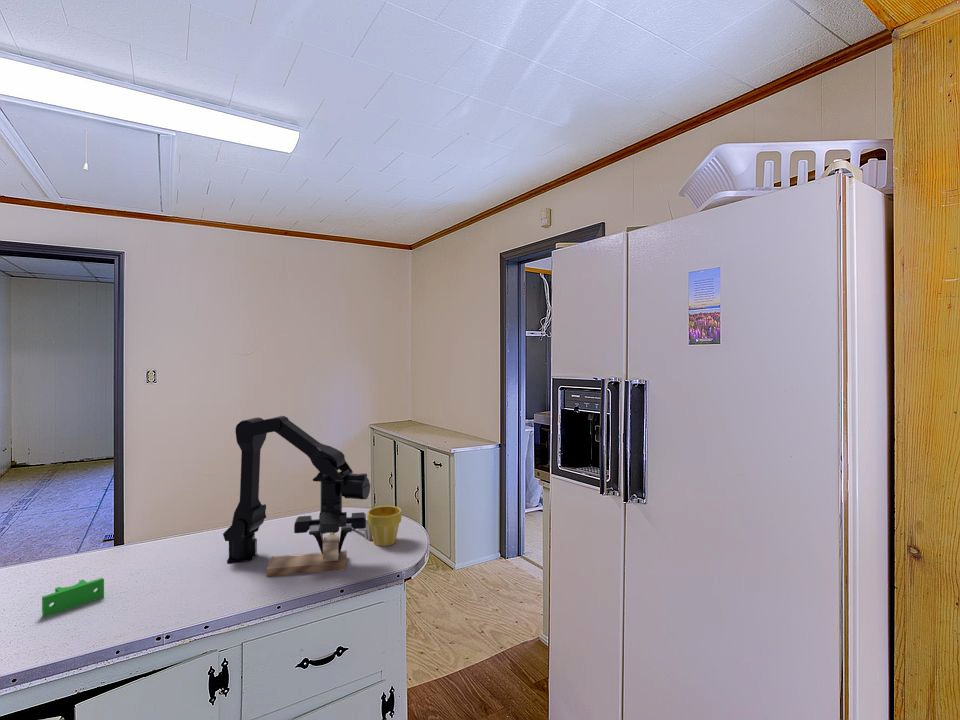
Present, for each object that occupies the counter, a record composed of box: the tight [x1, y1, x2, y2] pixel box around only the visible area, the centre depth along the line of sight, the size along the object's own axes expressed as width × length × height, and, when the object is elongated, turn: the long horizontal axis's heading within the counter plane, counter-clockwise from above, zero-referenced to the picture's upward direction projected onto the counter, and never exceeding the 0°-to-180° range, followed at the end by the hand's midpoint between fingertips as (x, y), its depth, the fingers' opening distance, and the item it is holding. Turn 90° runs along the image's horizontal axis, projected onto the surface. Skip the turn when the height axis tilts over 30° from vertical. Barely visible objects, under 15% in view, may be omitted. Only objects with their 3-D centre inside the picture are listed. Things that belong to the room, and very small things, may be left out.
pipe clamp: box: [41, 577, 105, 618], centre depth 115 cm, size 11×4×5 cm, turn 145°
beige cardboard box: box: [323, 532, 340, 562], centre depth 139 cm, size 4×9×5 cm, turn 13°
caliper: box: [357, 519, 373, 541], centre depth 162 cm, size 20×1×6 cm, turn 43°
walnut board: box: [266, 549, 348, 578], centre depth 136 cm, size 20×8×2 cm, turn 103°
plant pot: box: [366, 505, 403, 547], centre depth 153 cm, size 10×10×10 cm
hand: (331, 553), depth 137 cm, fingers closed on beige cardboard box, 4 cm apart
